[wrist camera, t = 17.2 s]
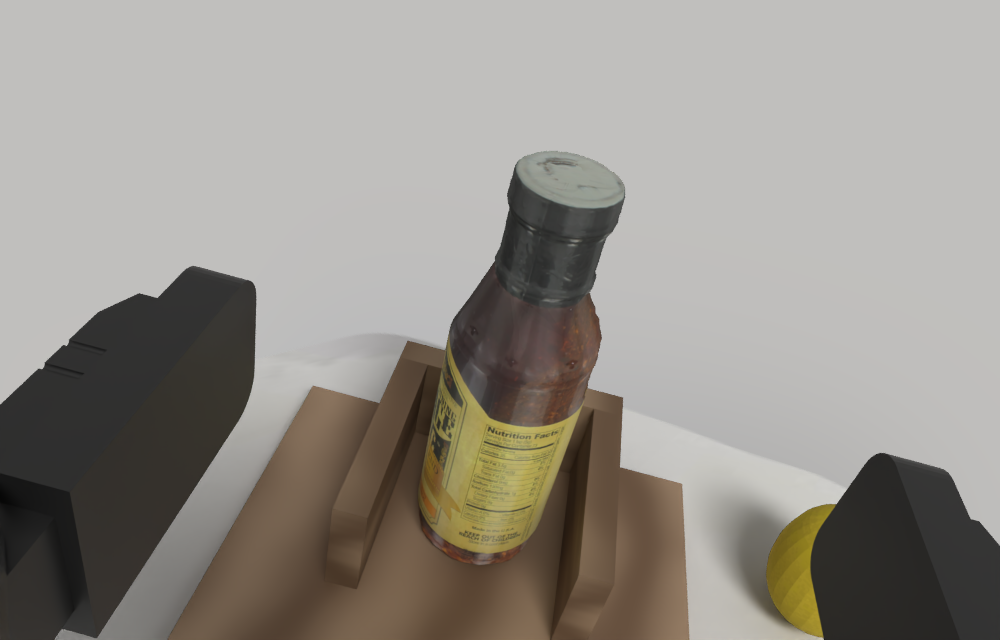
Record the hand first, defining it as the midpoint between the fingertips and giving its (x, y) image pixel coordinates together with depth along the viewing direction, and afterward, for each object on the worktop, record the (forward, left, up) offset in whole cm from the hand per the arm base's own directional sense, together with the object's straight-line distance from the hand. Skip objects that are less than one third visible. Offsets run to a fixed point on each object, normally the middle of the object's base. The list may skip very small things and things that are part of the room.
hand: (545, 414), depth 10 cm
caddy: (0, +16, -26) cm, 30 cm away
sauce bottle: (0, +18, -24) cm, 30 cm away
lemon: (+17, +19, -26) cm, 37 cm away
